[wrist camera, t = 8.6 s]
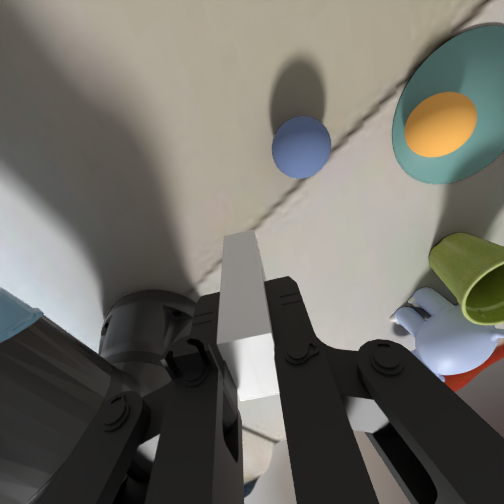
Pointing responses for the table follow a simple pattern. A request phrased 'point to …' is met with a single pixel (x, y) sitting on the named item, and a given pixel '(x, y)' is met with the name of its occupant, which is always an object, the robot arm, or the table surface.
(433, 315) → the hippopotamus toy
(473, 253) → the plant pot
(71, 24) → the table surface
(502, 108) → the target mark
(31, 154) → the table surface
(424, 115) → the orange ball
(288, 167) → the blue ball
